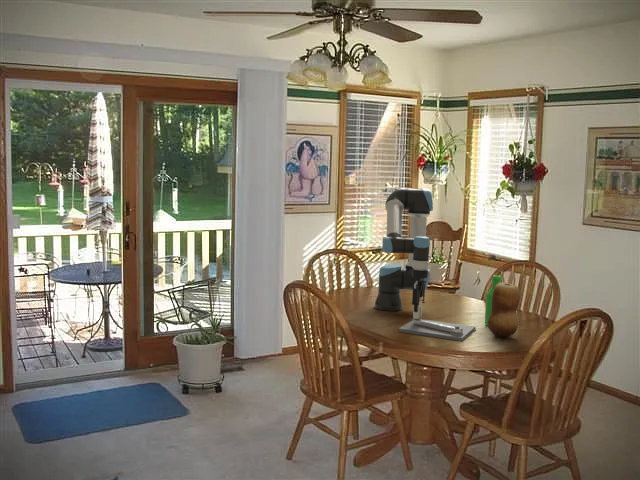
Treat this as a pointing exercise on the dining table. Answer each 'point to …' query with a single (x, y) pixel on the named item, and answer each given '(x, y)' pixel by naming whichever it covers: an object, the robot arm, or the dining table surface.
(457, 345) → the dining table surface
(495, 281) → the bottle
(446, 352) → the dining table surface
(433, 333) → the lever board
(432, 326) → the lever
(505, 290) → the butternut squash
